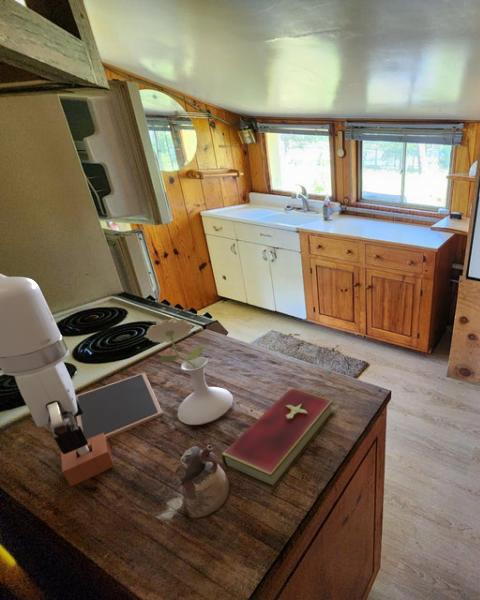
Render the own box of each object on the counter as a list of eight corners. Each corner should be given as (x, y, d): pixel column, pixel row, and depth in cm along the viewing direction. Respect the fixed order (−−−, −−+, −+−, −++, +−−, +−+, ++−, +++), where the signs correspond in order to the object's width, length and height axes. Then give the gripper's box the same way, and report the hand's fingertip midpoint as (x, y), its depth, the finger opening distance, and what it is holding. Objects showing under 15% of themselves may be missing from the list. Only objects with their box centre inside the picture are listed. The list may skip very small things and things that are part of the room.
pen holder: (70, 486, 59) (62, 471, 57) (68, 464, 63) (60, 450, 61) (114, 466, 63) (107, 451, 61) (110, 446, 67) (103, 432, 65)
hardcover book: (223, 467, 64) (219, 452, 62) (292, 398, 82) (290, 385, 80) (273, 489, 60) (270, 474, 58) (333, 412, 78) (332, 399, 76)
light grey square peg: (86, 470, 62) (61, 423, 57) (86, 465, 63) (61, 419, 58) (96, 465, 63) (72, 419, 58) (95, 461, 64) (72, 415, 59)
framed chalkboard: (82, 449, 66) (80, 446, 65) (74, 398, 78) (73, 395, 78) (163, 415, 75) (162, 412, 75) (145, 374, 88) (144, 371, 87)
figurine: (193, 482, 60) (177, 436, 55) (234, 476, 62) (222, 430, 57) (178, 521, 54) (159, 473, 49) (224, 513, 56) (210, 465, 51)
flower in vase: (237, 391, 83) (218, 304, 73) (229, 424, 73) (206, 328, 63) (180, 399, 80) (151, 308, 69) (163, 435, 70) (126, 336, 59)
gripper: (1, 340, 55) (44, 416, 62) (-7, 391, 44) (45, 476, 51) (63, 325, 60) (95, 398, 67) (69, 368, 49) (107, 449, 56)
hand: (74, 432), depth 59 cm, fingers open, 9 cm apart
